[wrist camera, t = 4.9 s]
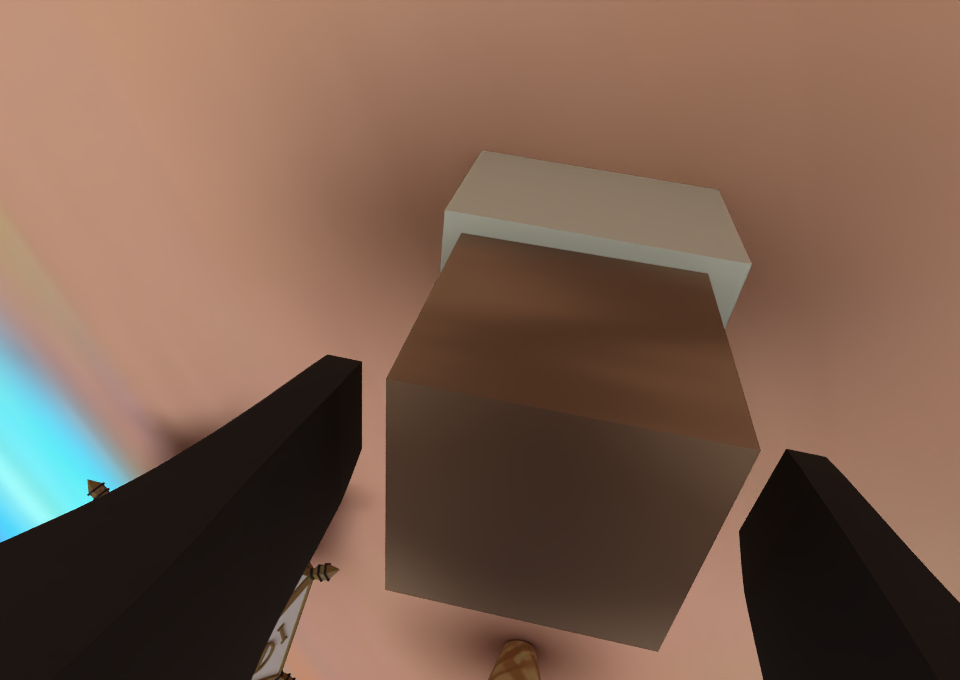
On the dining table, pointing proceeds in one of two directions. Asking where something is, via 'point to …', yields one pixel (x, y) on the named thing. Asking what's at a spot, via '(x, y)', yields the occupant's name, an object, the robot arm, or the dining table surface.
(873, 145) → the dining table surface
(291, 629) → the game die
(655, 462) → the walnut cube
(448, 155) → the dining table surface
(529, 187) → the base block
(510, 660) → the ice cream cone
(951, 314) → the dining table surface
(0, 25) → the dining table surface
